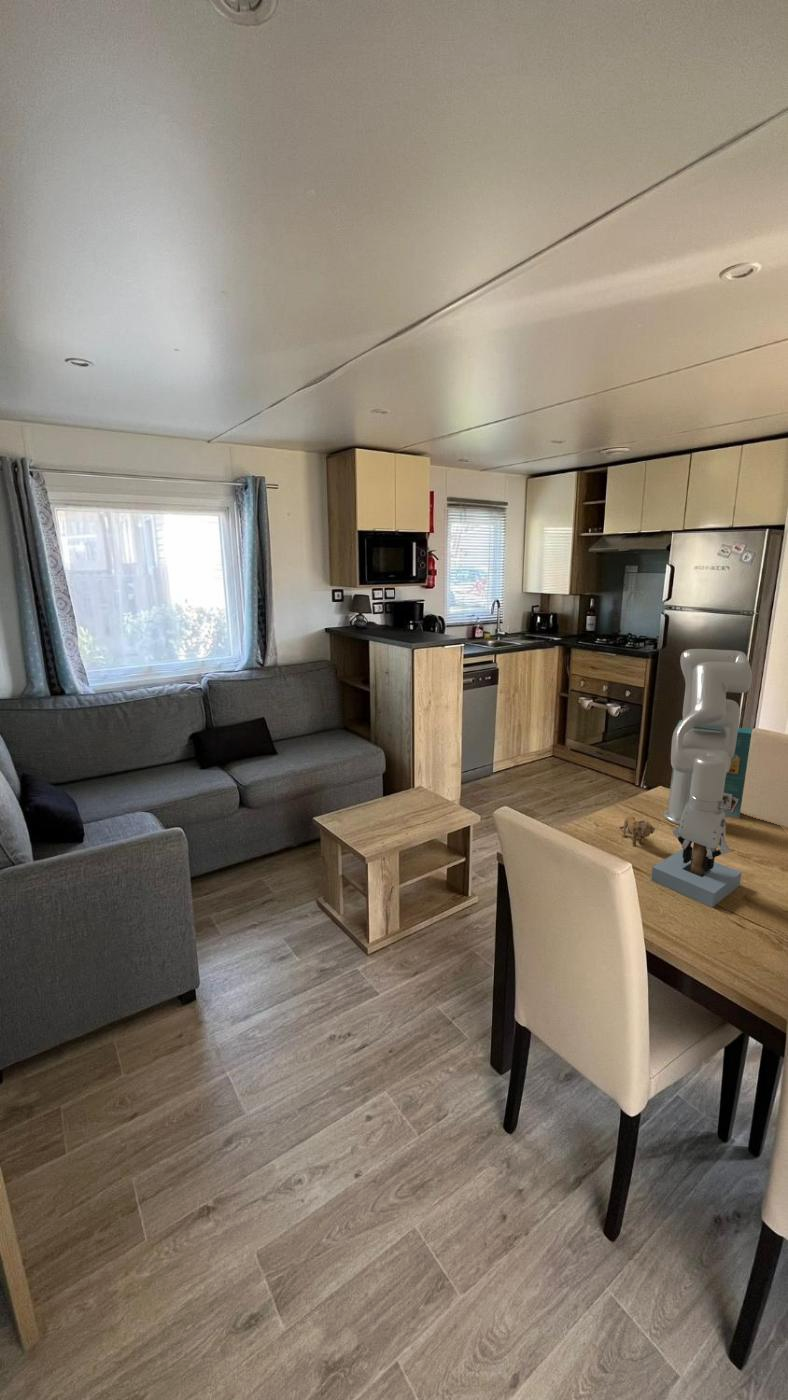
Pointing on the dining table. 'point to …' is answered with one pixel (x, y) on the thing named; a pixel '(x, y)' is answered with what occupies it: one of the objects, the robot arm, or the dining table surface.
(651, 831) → the lion figurine
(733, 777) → the cake mix box
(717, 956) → the dining table surface
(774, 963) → the dining table surface
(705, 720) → the robot arm
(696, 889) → the socket block
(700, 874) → the peg
